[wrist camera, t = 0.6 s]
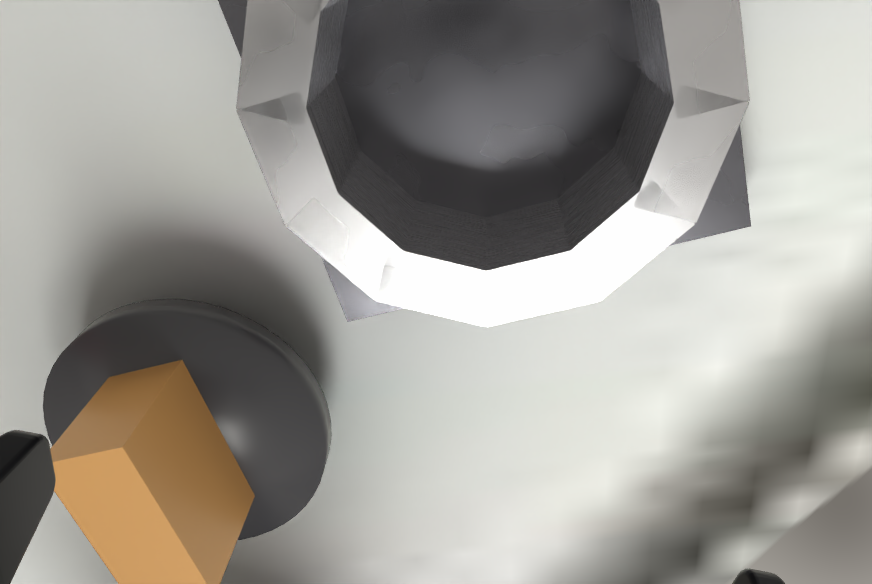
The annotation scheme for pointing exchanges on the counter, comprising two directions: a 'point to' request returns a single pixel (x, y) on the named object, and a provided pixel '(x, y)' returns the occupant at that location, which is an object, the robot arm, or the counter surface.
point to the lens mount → (493, 142)
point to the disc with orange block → (182, 437)
